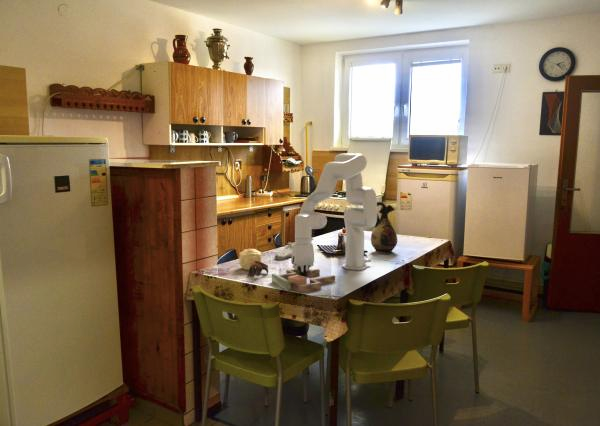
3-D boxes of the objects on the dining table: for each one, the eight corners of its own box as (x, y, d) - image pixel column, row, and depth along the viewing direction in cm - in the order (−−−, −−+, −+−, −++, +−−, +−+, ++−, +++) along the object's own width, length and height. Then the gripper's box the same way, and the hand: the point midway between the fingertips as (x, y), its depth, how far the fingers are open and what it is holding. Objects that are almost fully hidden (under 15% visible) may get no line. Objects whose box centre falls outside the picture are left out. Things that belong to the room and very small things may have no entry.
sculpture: (240, 272, 248) (239, 251, 246) (238, 266, 259) (238, 246, 258) (262, 271, 250) (262, 250, 248) (260, 265, 261) (259, 245, 260)
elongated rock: (270, 262, 275) (286, 264, 271) (270, 253, 274) (286, 255, 270) (293, 246, 307) (308, 248, 303) (293, 238, 306) (308, 240, 302)
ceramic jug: (395, 249, 298) (397, 200, 294) (398, 255, 283) (399, 203, 279) (367, 249, 300) (368, 200, 295) (368, 255, 285) (369, 203, 280)
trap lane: (311, 272, 248) (311, 264, 247) (342, 285, 225) (342, 276, 224) (266, 279, 235) (266, 271, 235) (293, 294, 212) (293, 285, 212)
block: (297, 283, 230) (297, 274, 229) (306, 285, 225) (306, 277, 225) (288, 285, 226) (288, 277, 225) (297, 288, 221) (297, 279, 221)
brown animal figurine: (245, 274, 246) (252, 259, 248) (262, 282, 247) (269, 266, 249) (248, 274, 234) (255, 258, 236) (266, 282, 236) (273, 266, 237)
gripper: (312, 238, 234) (312, 275, 237) (285, 241, 227) (285, 279, 229) (321, 240, 228) (321, 279, 230) (293, 244, 220) (293, 283, 223)
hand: (303, 279), depth 230 cm, fingers closed
